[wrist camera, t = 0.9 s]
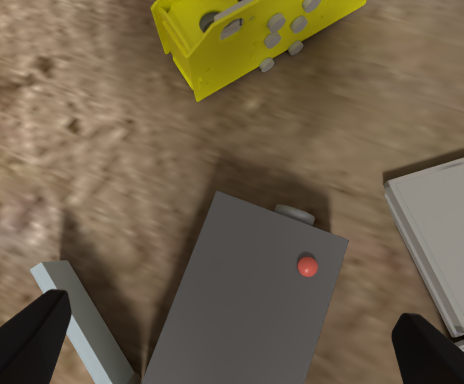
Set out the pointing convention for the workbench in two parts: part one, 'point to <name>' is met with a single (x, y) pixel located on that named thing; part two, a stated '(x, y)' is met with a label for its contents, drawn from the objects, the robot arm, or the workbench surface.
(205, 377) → the camera block
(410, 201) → the gadget
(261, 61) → the yellow toy chassis
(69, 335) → the side door
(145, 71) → the workbench surface
